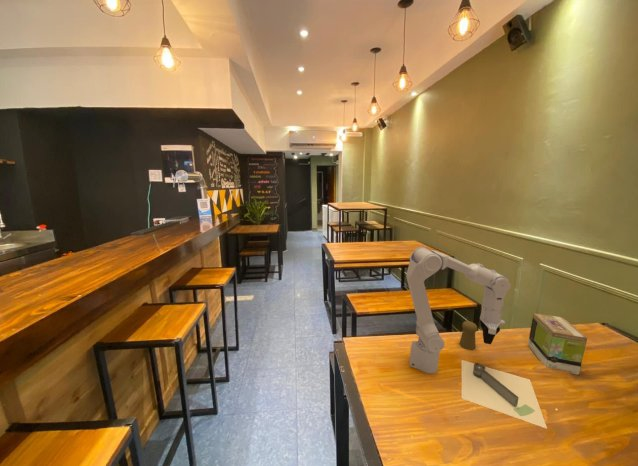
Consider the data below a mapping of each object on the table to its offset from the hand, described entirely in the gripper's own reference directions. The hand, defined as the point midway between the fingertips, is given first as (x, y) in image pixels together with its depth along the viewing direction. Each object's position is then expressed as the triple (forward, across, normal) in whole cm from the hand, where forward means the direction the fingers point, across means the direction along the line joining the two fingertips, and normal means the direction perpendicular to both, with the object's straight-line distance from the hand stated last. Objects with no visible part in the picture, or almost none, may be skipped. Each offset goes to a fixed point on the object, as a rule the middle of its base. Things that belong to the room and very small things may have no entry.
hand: (487, 342), depth 89 cm
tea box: (+11, +19, -23) cm, 32 cm away
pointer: (+9, -10, -2) cm, 14 cm away
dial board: (+10, -10, -3) cm, 15 cm away
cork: (+11, +11, +5) cm, 16 cm away
